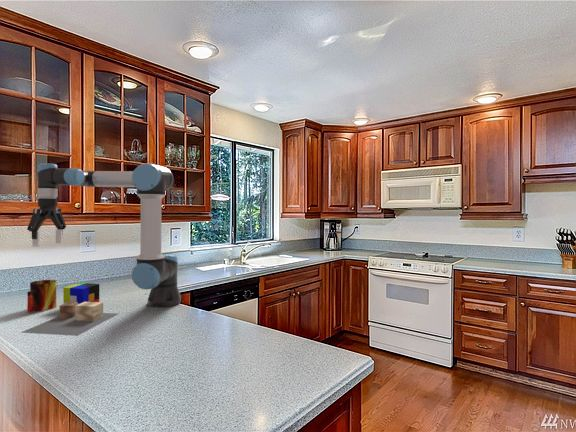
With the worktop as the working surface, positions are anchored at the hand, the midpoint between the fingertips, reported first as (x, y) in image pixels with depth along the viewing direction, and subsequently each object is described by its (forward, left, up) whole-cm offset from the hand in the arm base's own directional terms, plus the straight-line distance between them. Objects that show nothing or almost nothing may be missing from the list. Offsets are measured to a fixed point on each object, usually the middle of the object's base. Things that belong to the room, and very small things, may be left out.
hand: (47, 244), depth 164 cm
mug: (-2, +6, -28) cm, 29 cm away
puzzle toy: (-16, 0, -28) cm, 33 cm away
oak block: (-30, +15, -28) cm, 44 cm away
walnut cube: (-20, +13, -28) cm, 36 cm away
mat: (-27, +20, -28) cm, 44 cm away
